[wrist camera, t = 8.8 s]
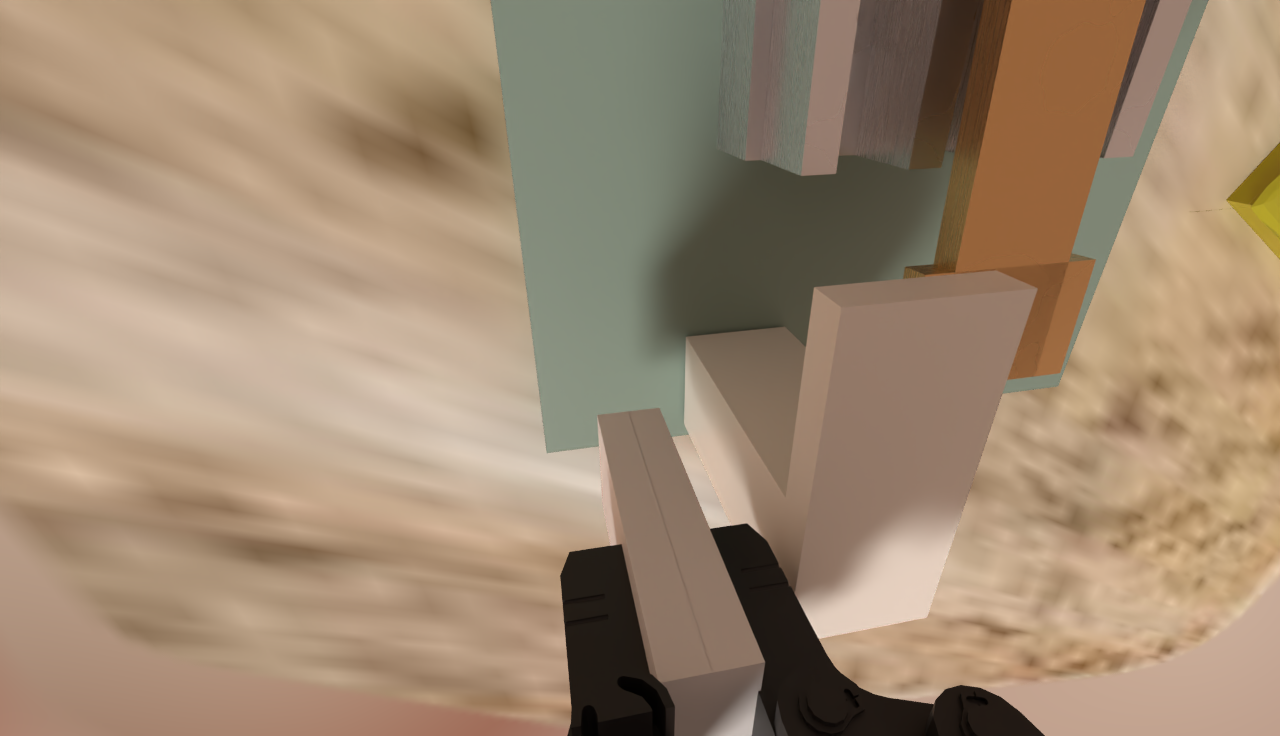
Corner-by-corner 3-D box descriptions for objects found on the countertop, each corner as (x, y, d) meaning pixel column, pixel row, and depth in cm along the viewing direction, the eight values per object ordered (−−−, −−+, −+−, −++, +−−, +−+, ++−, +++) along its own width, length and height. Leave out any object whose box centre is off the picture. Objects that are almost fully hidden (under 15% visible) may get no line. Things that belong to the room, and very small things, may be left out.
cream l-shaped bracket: (688, 192, 14) (841, 307, 7) (800, 185, 15) (1038, 288, 8) (684, 423, 17) (786, 644, 11) (775, 412, 18) (927, 617, 11)
